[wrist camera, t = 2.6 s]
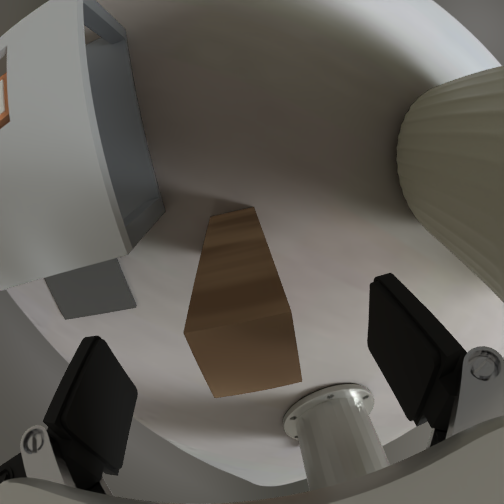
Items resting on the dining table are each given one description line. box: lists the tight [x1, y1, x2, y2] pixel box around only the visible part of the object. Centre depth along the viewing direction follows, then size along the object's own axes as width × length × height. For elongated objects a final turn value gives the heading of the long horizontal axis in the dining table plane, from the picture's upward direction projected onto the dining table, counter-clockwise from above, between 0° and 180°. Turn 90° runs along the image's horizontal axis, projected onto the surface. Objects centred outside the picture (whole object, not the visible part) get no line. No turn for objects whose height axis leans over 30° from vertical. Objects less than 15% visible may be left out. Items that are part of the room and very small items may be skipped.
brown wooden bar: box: [184, 207, 302, 398], centre depth 15 cm, size 3×3×14 cm
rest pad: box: [45, 258, 137, 320], centre depth 22 cm, size 9×9×1 cm
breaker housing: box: [0, 0, 165, 291], centre depth 14 cm, size 16×12×9 cm
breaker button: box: [0, 72, 10, 129], centre depth 11 cm, size 3×3×4 cm
